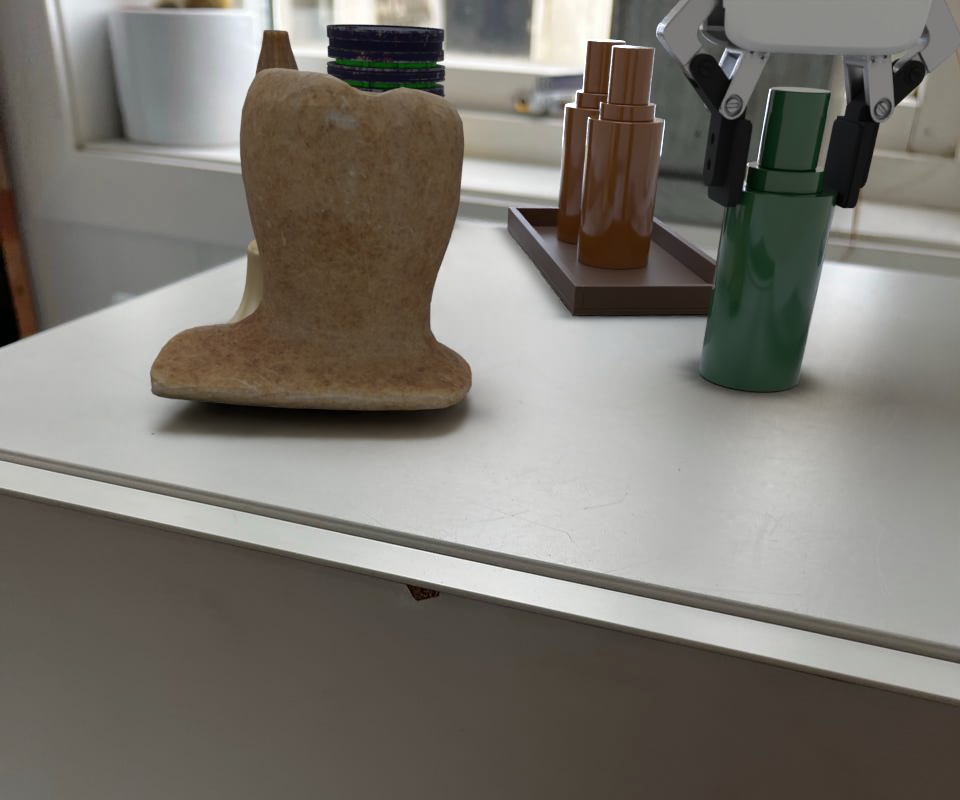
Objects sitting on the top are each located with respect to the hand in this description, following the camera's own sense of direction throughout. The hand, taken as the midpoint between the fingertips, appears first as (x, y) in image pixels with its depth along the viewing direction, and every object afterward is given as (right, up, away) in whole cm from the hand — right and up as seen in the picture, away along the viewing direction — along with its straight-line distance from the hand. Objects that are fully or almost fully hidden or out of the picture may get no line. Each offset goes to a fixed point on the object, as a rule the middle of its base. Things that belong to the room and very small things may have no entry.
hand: (780, 199), depth 53 cm
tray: (-5, +6, +26) cm, 28 cm away
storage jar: (-24, +14, +38) cm, 47 cm away
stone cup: (-24, -10, 0) cm, 26 cm away
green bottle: (0, -8, +5) cm, 9 cm away
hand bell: (-27, -5, +8) cm, 29 cm away
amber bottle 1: (-7, +11, +33) cm, 35 cm away
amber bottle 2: (-5, +7, +26) cm, 28 cm away
